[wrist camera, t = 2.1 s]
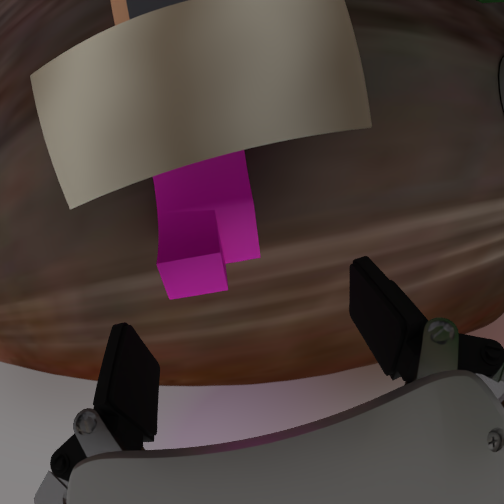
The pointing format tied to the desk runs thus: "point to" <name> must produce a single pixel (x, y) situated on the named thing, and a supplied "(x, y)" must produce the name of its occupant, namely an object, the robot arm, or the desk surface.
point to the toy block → (204, 224)
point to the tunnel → (197, 89)
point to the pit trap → (137, 8)
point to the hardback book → (489, 0)
